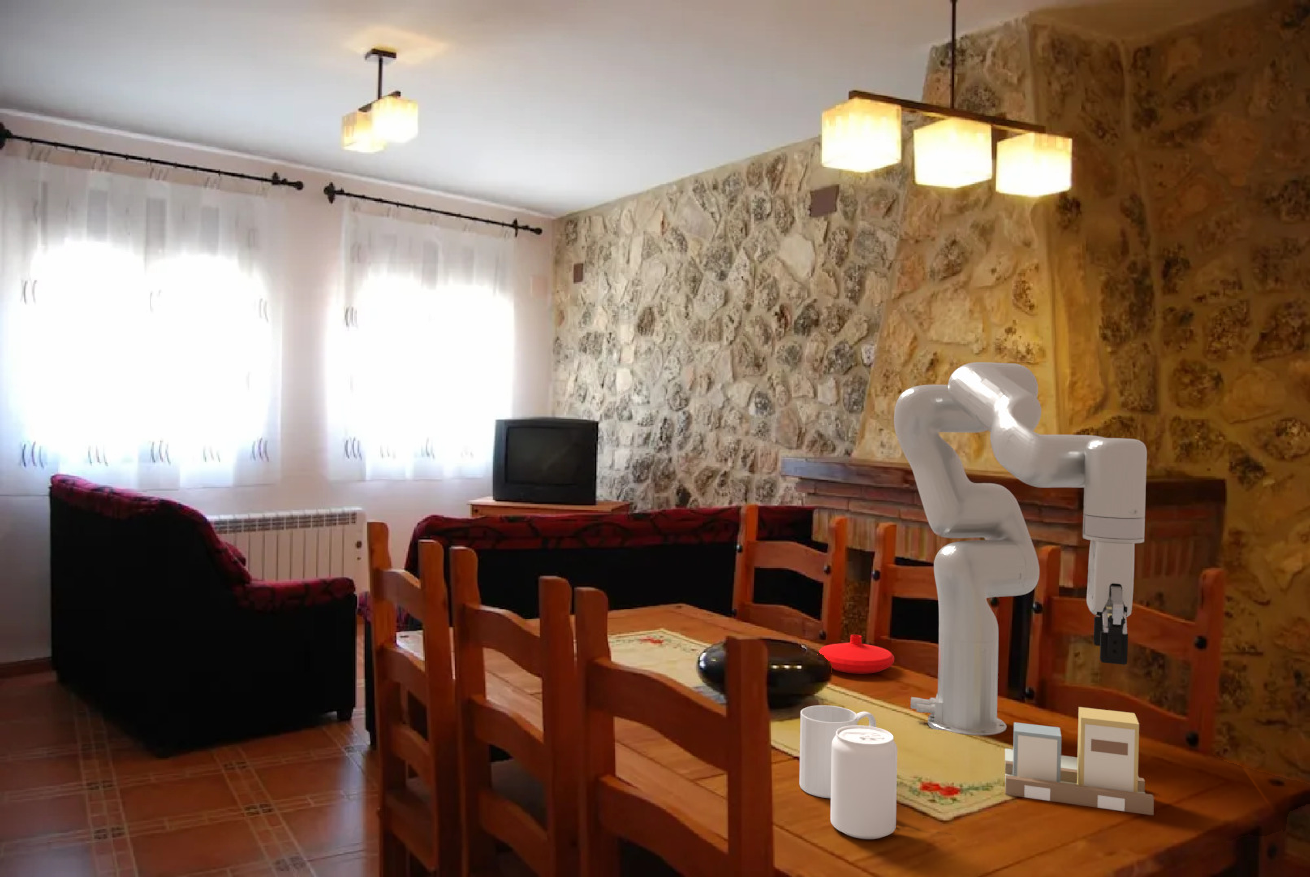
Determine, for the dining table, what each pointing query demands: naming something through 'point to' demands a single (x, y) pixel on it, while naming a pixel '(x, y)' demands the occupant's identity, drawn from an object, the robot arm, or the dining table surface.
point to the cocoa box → (1037, 752)
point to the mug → (822, 744)
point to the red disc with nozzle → (857, 657)
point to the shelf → (1076, 789)
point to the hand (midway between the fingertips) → (1109, 654)
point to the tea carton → (1108, 749)
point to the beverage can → (864, 782)
